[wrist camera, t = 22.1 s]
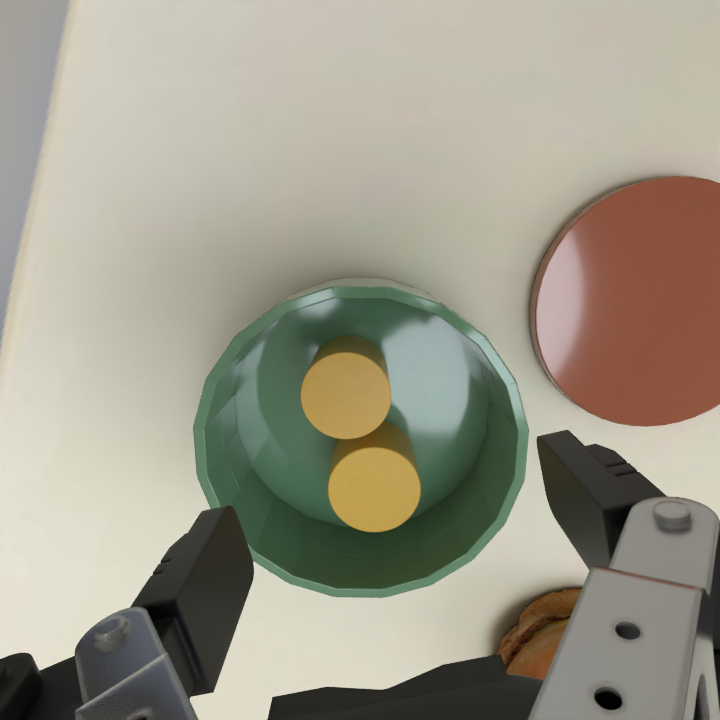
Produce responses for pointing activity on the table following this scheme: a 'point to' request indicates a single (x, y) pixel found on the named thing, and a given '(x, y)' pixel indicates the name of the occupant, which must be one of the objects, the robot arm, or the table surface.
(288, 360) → the green bowl
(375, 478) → the yellow short cylinder
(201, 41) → the table surface
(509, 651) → the burger
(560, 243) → the plate
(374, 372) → the yellow cylinder
